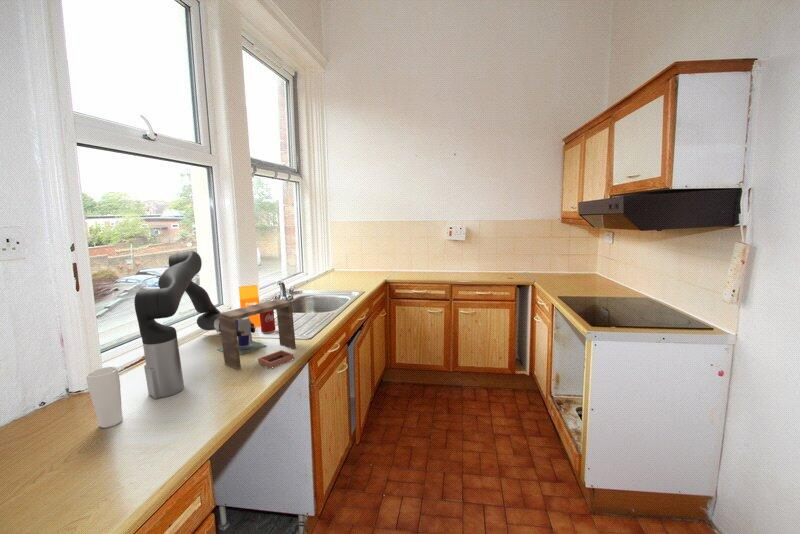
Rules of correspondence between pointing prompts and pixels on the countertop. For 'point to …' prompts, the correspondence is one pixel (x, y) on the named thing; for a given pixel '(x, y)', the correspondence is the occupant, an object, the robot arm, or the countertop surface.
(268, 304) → the tunnel
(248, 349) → the mat
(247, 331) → the energy drink
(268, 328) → the beverage can
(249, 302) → the orange juice
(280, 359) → the pink tray
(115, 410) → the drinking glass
